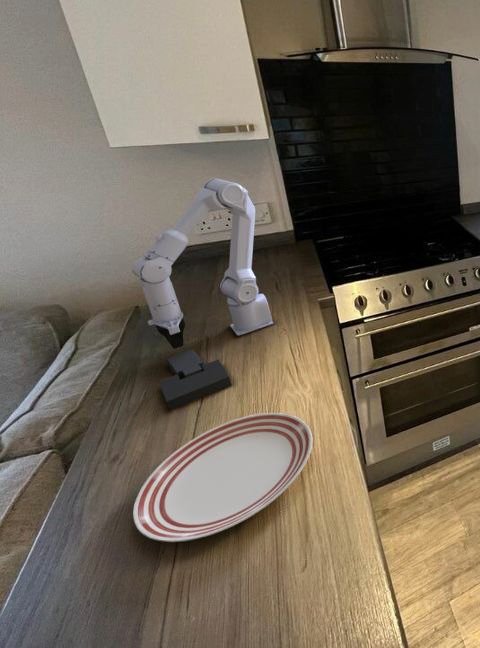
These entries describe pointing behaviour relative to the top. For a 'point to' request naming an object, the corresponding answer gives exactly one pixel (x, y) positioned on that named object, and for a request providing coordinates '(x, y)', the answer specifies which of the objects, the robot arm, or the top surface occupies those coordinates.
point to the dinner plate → (222, 477)
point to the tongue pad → (185, 364)
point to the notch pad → (195, 385)
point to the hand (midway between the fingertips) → (178, 346)
